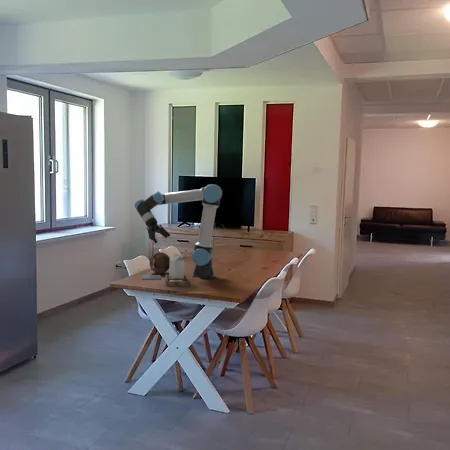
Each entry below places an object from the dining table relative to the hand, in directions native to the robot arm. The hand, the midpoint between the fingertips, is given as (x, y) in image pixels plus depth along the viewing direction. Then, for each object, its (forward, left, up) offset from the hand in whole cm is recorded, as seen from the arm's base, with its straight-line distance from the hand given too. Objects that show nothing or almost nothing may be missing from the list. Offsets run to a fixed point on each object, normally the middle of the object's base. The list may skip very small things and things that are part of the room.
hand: (166, 246), depth 309 cm
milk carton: (-7, +6, -23) cm, 25 cm away
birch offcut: (-7, +16, -22) cm, 28 cm away
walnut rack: (-7, +11, -23) cm, 26 cm away
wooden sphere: (+3, -27, -23) cm, 36 cm away
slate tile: (+9, -4, -23) cm, 25 cm away
